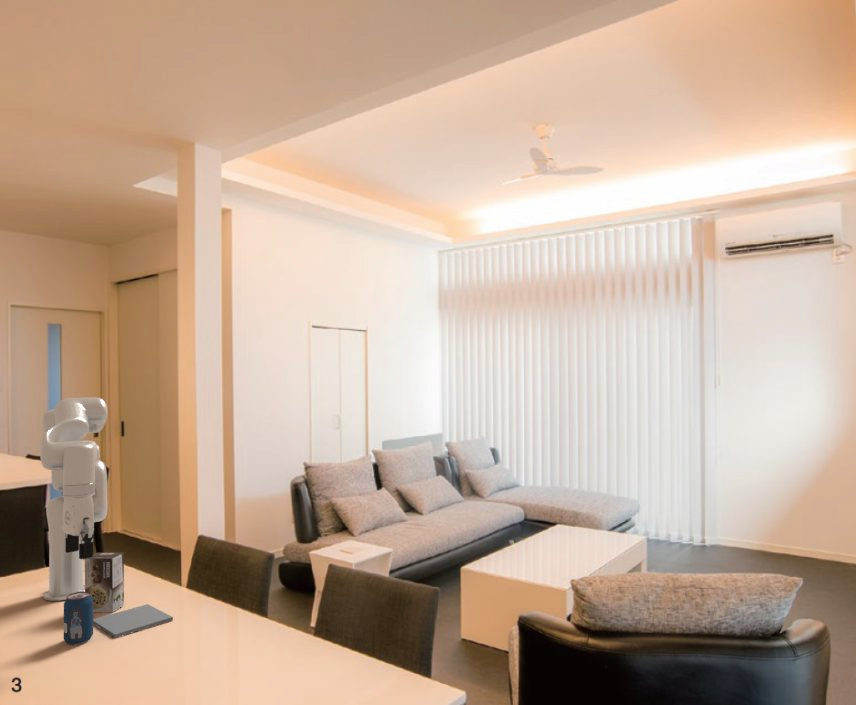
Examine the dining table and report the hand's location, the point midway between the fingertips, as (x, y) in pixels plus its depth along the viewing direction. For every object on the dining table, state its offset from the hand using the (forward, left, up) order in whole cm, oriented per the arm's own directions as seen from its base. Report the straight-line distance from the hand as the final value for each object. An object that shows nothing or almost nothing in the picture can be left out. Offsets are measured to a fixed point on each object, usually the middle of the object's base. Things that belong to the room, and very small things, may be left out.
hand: (78, 554), depth 171 cm
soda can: (0, 0, -23) cm, 23 cm away
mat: (-2, +15, -23) cm, 27 cm away
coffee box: (-19, +14, -23) cm, 33 cm away
